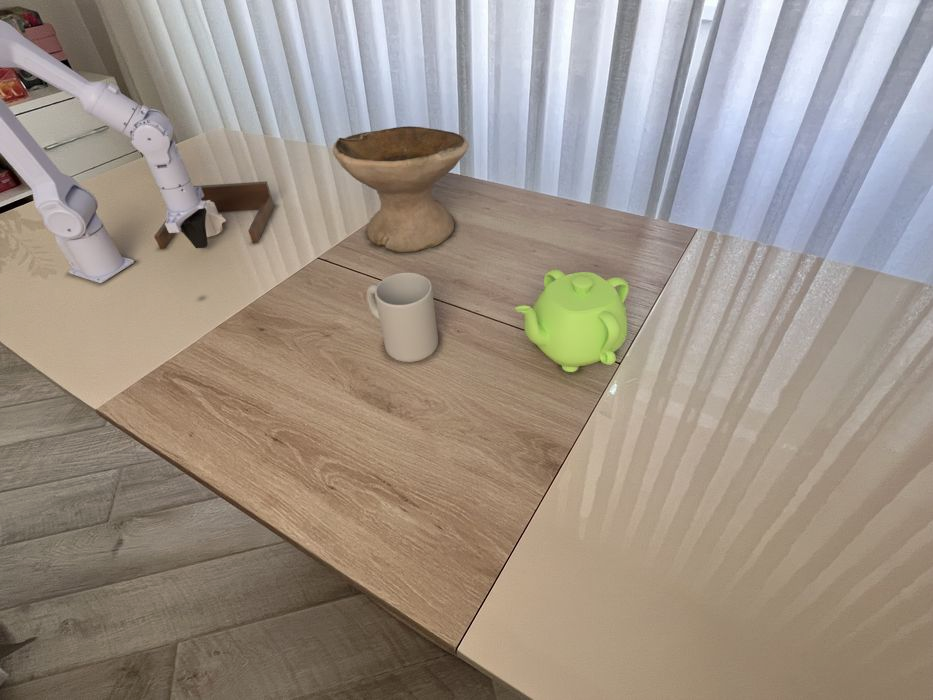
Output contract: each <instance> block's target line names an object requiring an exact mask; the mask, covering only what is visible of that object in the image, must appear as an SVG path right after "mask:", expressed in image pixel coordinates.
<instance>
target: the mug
mask: <svg viewBox="0 0 933 700" xmlns="http://www.w3.org/2000/svg"><path fill="white" fill-rule="evenodd" d="M366 300H367V304H368V307H369V311H370V312H371V315H373V317H374V318H375V319H376V320H378V321H379V322H380V328H381V332H382V338H383V345H384V349H385V351H386V353H387V354H388V355H389V356H390V357H391V359H394V360H396V361H399V362H403V363H413V362H415V363H416V362H419V361H423V360H425V359H427V358H429V357H430V356H431V355H432V354H433V353H434V352H435V351H436V350H437V348H438V345H439V333H438V326H437V319H436V310H435V302H434V301H435V300H434V293H433V285H432V283H431V281H430V280H429V279H428V277H426V276H424V275H422V274H420V273H416V272H399V273H395V274H391V275H389V276H387V277H385V278H383V279H382V280H381V281H380V282H378V284H371V285H369V286H368V288H367V290H366Z"/></svg>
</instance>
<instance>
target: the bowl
mask: <svg viewBox="0 0 933 700" xmlns="http://www.w3.org/2000/svg"><path fill="white" fill-rule="evenodd" d="M469 146H470V145H469V141H468V140H467V138H465V136H464V135H462V134H459V133H456V132H454V131H453V132H452V131H448V130H442V129H438V128H429V127H423V126H410V125H408V126H398V127H391V128H385V129H380V130H372V131H365V132H359V133H355V134H352V135H348V136H347V137H338V138H337V139H336V140H335V142H334V143H333V146H332V153H333V154H332V155H333V156H334V158H335V159H336V161H337V163H339V165H340V166H341V167H342V169H344V170H345V171H346V172H347V173H348V174H349V175H350V176H351V177H352V178H354V179H355V180H356V181H358V182H360V183H362V184H363V185H365V186H367V187H369V188H370V189H372V190H374V191H376V193H377V194H378V197H379V201H380V208H379V210H378V211H377V212H376V213H375V214H374V215H373V216H372V217H371V218H370V220H369V221H368V224H367V229H366V234H367V235H366V236H367V238H368V240H369V241H370V242H371V243H372V244H373V245H374V246H376V247H384V248H385V249H386V250H388V251H391V252H395V253H409V252H410V253H411V252H418V251H422V250H426V249H429V248H434V247H436V246H438V245H440V244H443V243H444V242H445V241H446V240H448V239H449V238H450V237H451V236H452V234H453V233H454V232H455V231H454V229H455V221H454V218H453V216H452V214H451V213H450V212H449V211H448V210H447V209H446V208H445V206H444V205H442V204H441V203H440V202H439V201H438V200H435V198H434V197H433V194H432V193H433V187H434V185H435V184H436V183H437V182H438V181H440V180H441V179H443V178H444V177H445V176H446V175H447V174H448V173H450V172H451V171H452V170H453V169H454V168H455V167H456V166H457V165H458V163H459V162H460V160H462V157H464V156H465V154H466V153H467V151H468V149H469V148H470V147H469Z"/></svg>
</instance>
